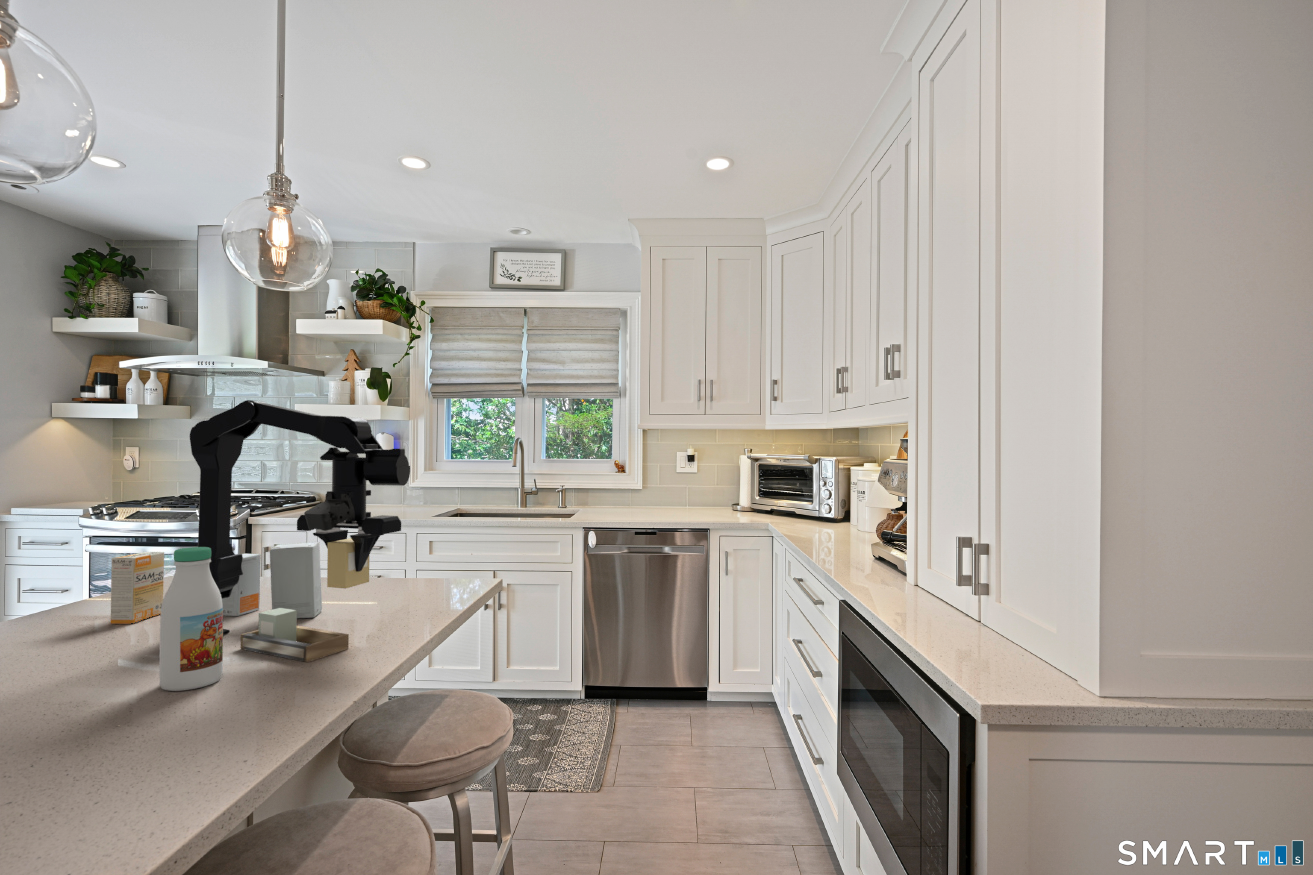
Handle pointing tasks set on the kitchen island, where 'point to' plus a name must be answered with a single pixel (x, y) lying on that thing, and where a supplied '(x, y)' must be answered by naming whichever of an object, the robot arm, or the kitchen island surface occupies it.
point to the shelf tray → (298, 644)
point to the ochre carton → (344, 565)
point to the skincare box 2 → (296, 578)
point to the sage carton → (278, 623)
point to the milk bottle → (191, 624)
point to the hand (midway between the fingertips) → (348, 570)
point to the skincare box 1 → (245, 588)
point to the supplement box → (136, 587)
